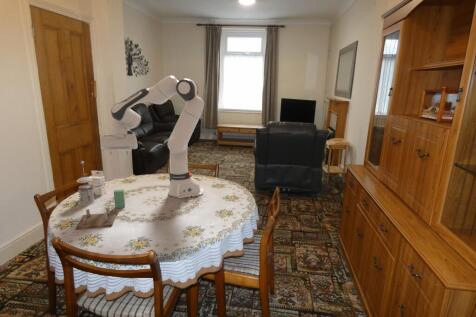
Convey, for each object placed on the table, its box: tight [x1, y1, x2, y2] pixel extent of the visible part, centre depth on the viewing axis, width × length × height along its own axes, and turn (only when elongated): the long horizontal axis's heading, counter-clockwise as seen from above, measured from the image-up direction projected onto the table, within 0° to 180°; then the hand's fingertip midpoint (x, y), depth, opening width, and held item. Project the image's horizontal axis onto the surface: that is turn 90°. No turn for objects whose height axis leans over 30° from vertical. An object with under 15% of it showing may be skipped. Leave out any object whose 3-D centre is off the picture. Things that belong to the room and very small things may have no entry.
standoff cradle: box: [75, 207, 117, 231], centre depth 146 cm, size 16×14×5 cm
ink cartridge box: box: [87, 170, 107, 197], centre depth 179 cm, size 9×5×15 cm, turn 84°
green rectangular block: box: [113, 188, 126, 209], centre depth 162 cm, size 5×3×10 cm, turn 105°
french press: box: [76, 160, 97, 207], centre depth 165 cm, size 10×12×25 cm
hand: (119, 154), depth 168 cm, fingers open, 8 cm apart
